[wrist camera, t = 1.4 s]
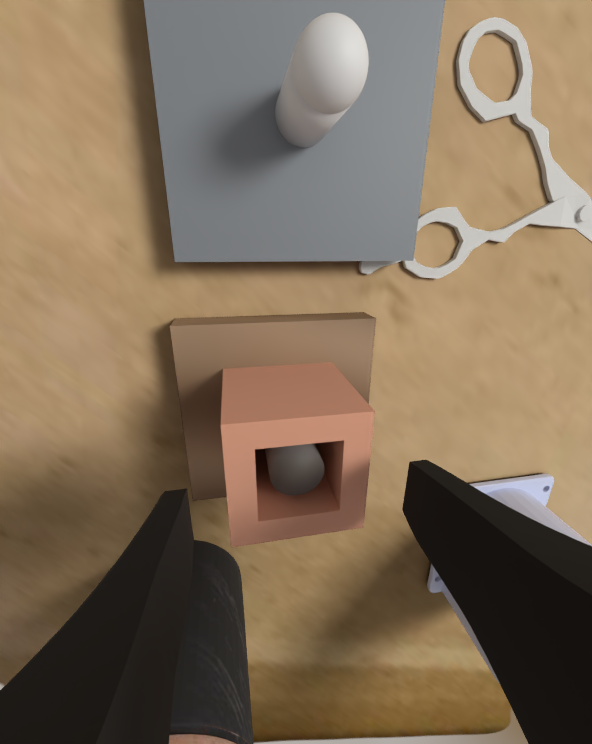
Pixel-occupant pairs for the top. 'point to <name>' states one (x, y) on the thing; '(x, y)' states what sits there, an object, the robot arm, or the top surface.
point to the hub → (294, 125)
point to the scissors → (562, 192)
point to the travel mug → (212, 656)
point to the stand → (256, 349)
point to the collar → (287, 428)
